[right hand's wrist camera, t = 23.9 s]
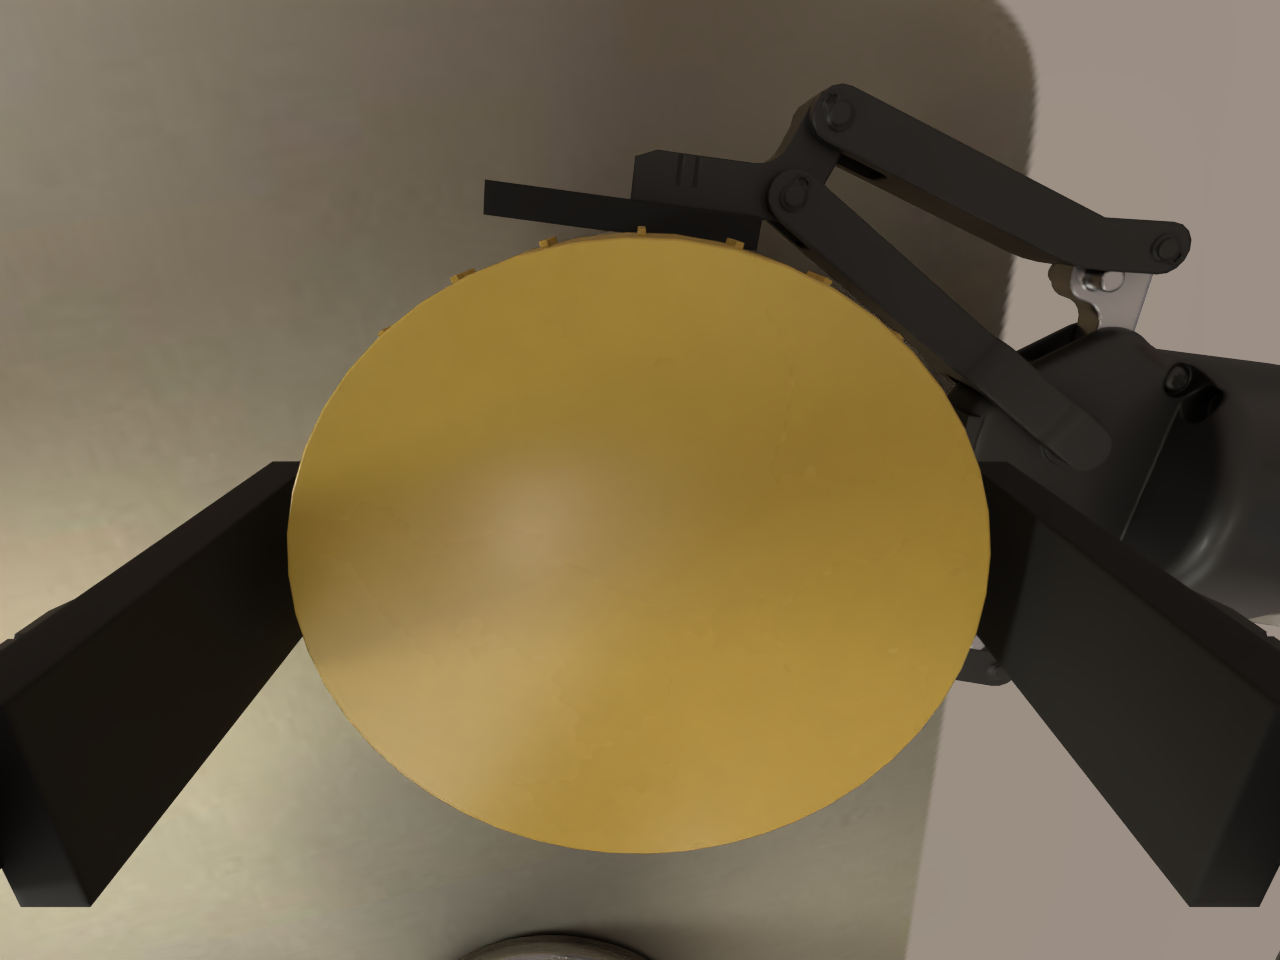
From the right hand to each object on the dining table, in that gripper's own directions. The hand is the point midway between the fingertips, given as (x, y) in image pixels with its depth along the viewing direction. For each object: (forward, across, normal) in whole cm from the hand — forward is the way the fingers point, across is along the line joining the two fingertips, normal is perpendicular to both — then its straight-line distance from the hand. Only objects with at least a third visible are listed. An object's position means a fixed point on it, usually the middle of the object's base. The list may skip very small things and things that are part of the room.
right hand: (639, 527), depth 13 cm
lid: (-2, 0, 0) cm, 2 cm away
